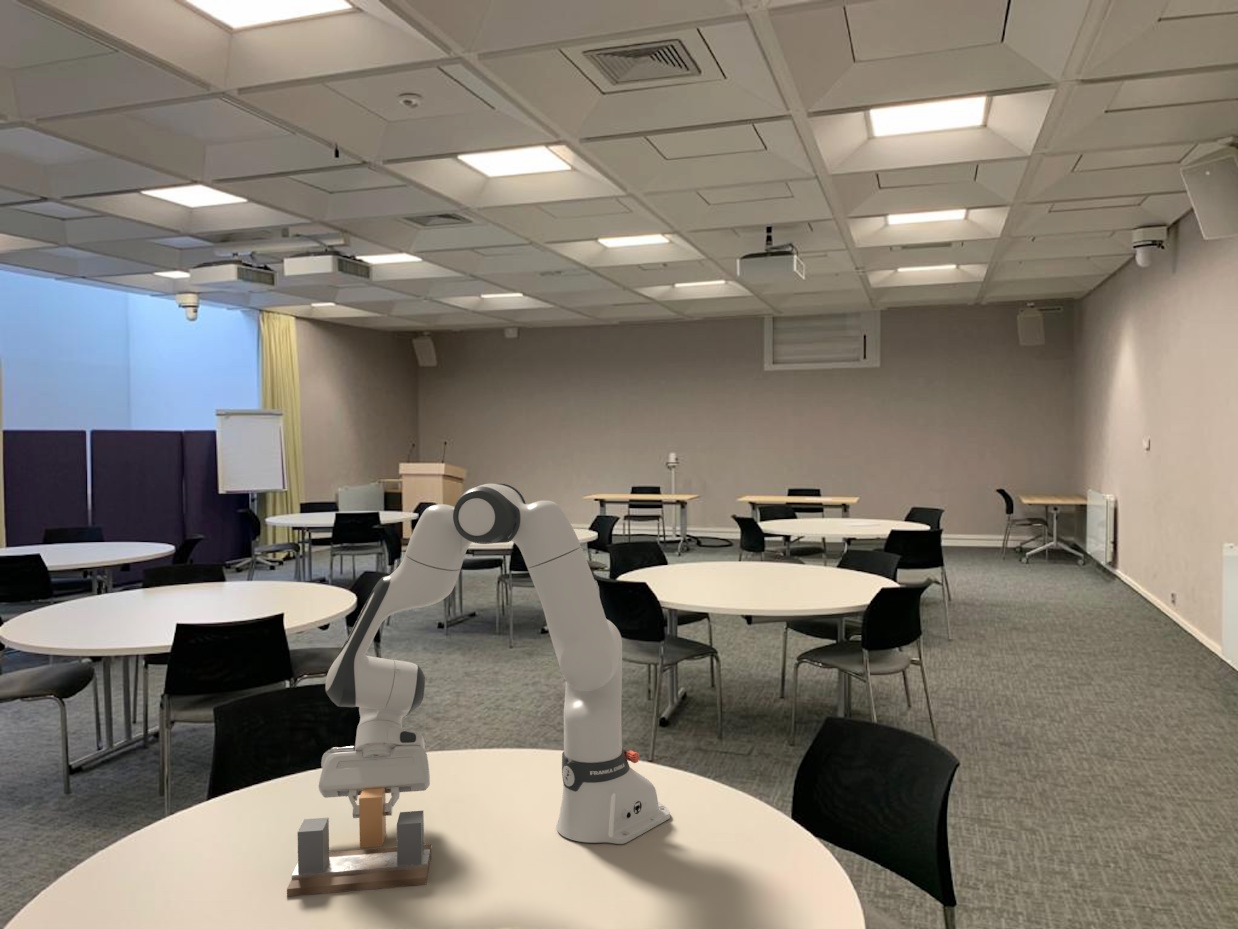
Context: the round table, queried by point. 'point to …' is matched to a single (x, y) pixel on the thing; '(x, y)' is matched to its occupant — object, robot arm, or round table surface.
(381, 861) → the light grey flat plate
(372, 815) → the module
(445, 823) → the round table surface
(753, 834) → the round table surface
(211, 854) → the round table surface
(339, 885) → the board
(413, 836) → the mounted modules
